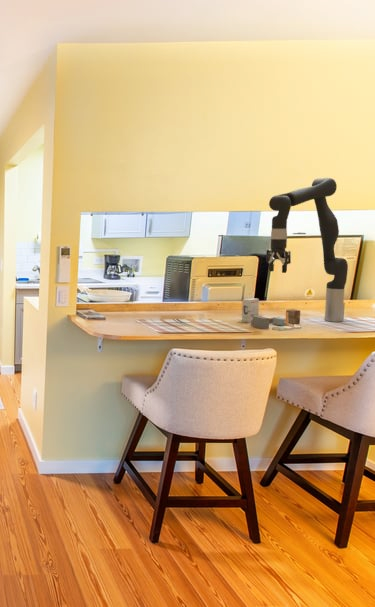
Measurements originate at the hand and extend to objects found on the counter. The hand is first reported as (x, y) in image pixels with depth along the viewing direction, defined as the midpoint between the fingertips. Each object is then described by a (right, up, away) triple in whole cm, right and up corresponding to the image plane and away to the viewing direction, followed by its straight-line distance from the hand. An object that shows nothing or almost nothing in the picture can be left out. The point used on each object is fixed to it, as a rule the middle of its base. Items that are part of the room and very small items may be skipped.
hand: (277, 272), depth 279 cm
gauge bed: (0, -27, +6) cm, 27 cm away
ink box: (-11, -25, +19) cm, 33 cm away
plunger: (+5, -26, +8) cm, 28 cm away
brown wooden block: (+10, -25, +16) cm, 32 cm away
